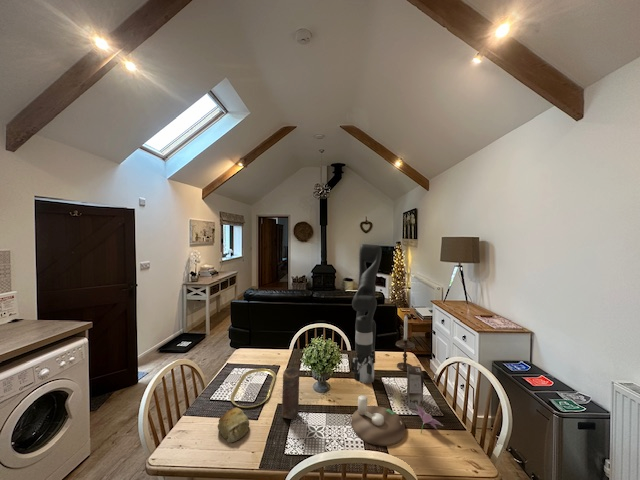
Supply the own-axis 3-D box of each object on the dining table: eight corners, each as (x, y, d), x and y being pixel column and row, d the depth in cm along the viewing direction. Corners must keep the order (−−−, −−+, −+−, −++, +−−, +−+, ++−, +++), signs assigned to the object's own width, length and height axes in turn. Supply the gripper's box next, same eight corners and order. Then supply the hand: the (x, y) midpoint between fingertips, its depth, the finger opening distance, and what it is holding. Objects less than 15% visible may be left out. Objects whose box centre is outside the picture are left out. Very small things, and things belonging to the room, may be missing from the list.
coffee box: (423, 410, 129) (424, 375, 128) (408, 408, 130) (409, 374, 129) (420, 398, 138) (421, 366, 137) (406, 396, 139) (407, 364, 138)
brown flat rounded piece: (340, 424, 119) (340, 420, 118) (371, 402, 134) (371, 399, 134) (385, 455, 103) (385, 451, 103) (414, 426, 118) (414, 422, 118)
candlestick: (416, 372, 163) (418, 312, 162) (398, 371, 163) (399, 312, 162) (411, 363, 174) (412, 307, 172) (393, 363, 174) (394, 307, 173)
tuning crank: (386, 421, 118) (386, 406, 118) (379, 427, 115) (379, 412, 114) (362, 407, 127) (362, 393, 127) (355, 412, 124) (355, 398, 123)
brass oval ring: (224, 409, 128) (224, 406, 128) (246, 370, 163) (246, 368, 163) (265, 410, 128) (265, 407, 128) (278, 371, 163) (278, 368, 163)
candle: (301, 412, 126) (301, 368, 125) (294, 423, 119) (295, 377, 118) (286, 408, 129) (286, 365, 128) (278, 418, 122) (278, 373, 121)
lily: (445, 444, 110) (449, 417, 113) (419, 435, 108) (424, 408, 111) (425, 433, 121) (429, 408, 124) (402, 425, 119) (407, 400, 122)
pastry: (224, 418, 122) (224, 400, 121) (253, 419, 122) (253, 401, 121) (211, 443, 108) (211, 423, 107) (243, 444, 107) (243, 424, 107)
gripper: (366, 334, 130) (366, 368, 131) (346, 342, 120) (346, 379, 121) (380, 339, 125) (379, 374, 125) (360, 348, 115) (360, 386, 116)
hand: (363, 377), depth 123 cm, fingers open, 8 cm apart
